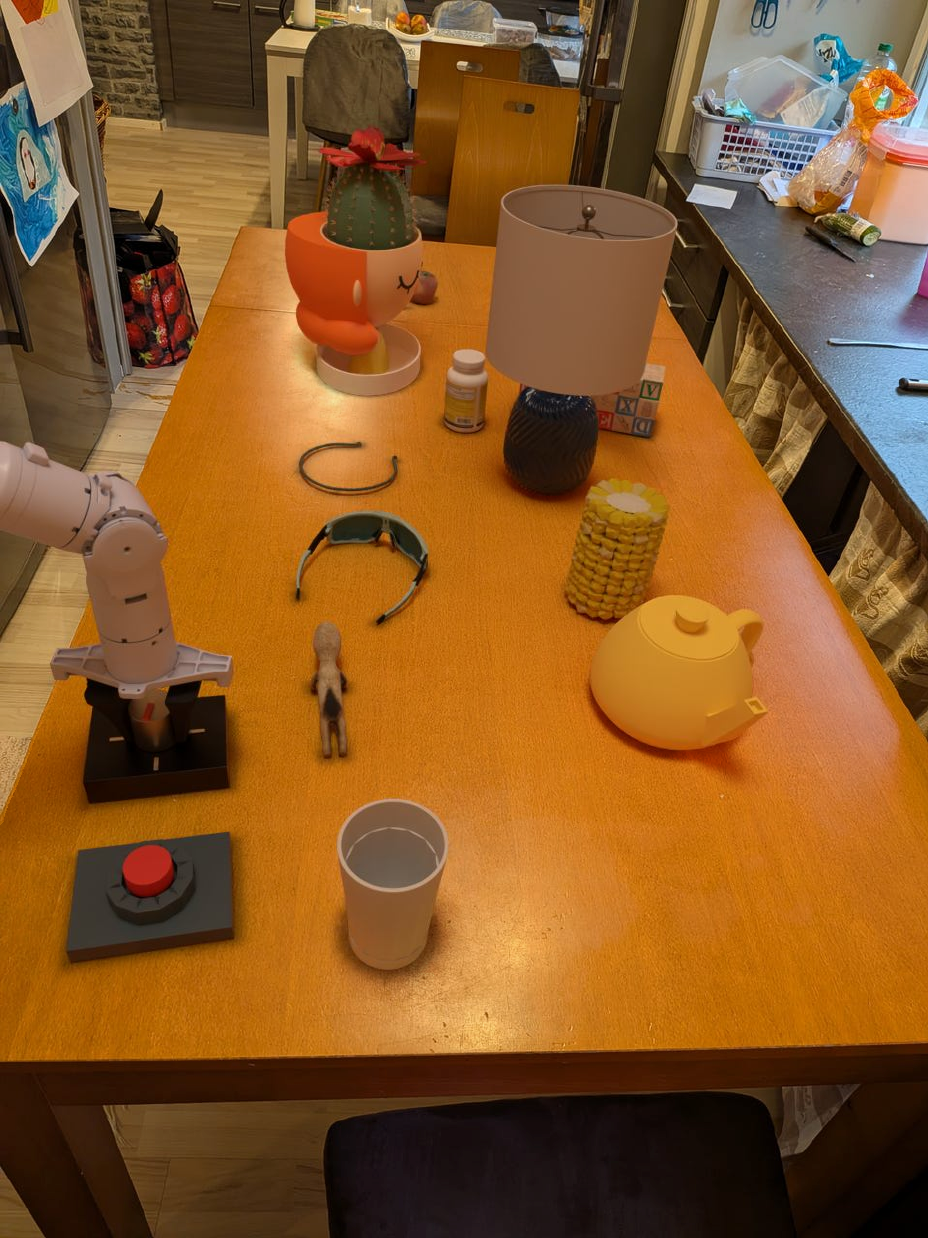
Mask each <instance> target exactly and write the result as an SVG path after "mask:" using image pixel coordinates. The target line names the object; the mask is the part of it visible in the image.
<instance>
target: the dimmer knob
mask: <svg viewBox="0 0 928 1238" xmlns="http://www.w3.org/2000/svg"><path fill="white" fill-rule="evenodd" d="M167 693H168V690H164V689H161V688H157V689H152V690H148V691H147V693H146V695H145V697H143V698H141V699H131V700H130V702H129V704H128V714H129V718H130V723H131V727H132V731H133V736H134V740H135V743H136V745H137V746H138V747H139V748H141V749H142V750H144V751H148V752H159V751H163V750H166V749H168V748H170V747H172V746H173V745H174V744H175V743H176V742H177V741H176V738H175V731H174V723H173V720H172V717H171V714H170V712H169V710H168V708H167V707H166V706H165V699H166V696H167Z"/></svg>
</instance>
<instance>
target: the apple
mask: <svg viewBox="0 0 928 1238" xmlns="http://www.w3.org/2000/svg"><path fill="white" fill-rule="evenodd" d="M419 282H420V285H419V290H418V292H417V294H415V295H414V294H413V296H412V298H411V300H410V301H412V302H413V303H418V304H420V305H427V304H431V302H433V300H434V298H435V295H436V294H437V293H436V292H437V290H438V285H439V281H438V278H437V276H436V275H435V274H434V273H431V272H429V271H427V270H421V273H420V278H419Z"/></svg>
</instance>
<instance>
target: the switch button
mask: <svg viewBox="0 0 928 1238" xmlns="http://www.w3.org/2000/svg"><path fill="white" fill-rule="evenodd" d="M123 874H124V878H125V881H126V885H127V888H128V889H129V891H130V892H131V893H132V894H134V895H136V896H139V897H153V896H156V895H158V894H160V893H162V892H163V891H165V890H166V889H167V888H168V887H169V886H170V885H171V883H172V881H173V878H174V868H173V864H172V859H171V856H170V854H169V852H168V851H167V850H166V849H164V848H163V847H160V846H157V845H147V846H143V847H140V848H138V849H136V850H134V851H133V852H132V853H130V854H129V855H128V857H127V858H126V860H125V862H124V864H123Z"/></svg>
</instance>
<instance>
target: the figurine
mask: <svg viewBox="0 0 928 1238" xmlns="http://www.w3.org/2000/svg"><path fill="white" fill-rule="evenodd" d="M312 647H313V652H314V654H315V656H316V658H317V659H318V661H319V667H318V670H317V671H315V672H314V674H313V675H312V677H311V681H310V686H309V688H310V690H311V691H315V690H316V689H317V695H318V697H317V698H318V708H319V726H320V727H319V729H320V734H321V738H322V740H321V741H322V754H323V757H325V758H330V757H332V755H333V751H332V742H331V731H332V724H333V726H334V730H335V733H336V738H337V739H336V740H337V747H338V748H337V749H338V754H339V755H340V756H342V757H345V756H346V755H347V752H348V751H347V750H348V749H347V748H348V747H347V744H348V743H347V725H346V724H347V723H346V719H345V712H344V702H343V700H344V699H343V692H342V689H346V688H347V685H348V677H347V676H346V674H345V673H344V671H342V670H340V669H339V668H338V666H337V661H338V659H339V657H340V655H341V652H342V636H341V632H340V631H339V629H338V627H337V626H336V625H335V624H334V623H332V622H331V621H324V622H320V624H318V625H317V626H316V628H315V630H314V634H313V640H312Z"/></svg>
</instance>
